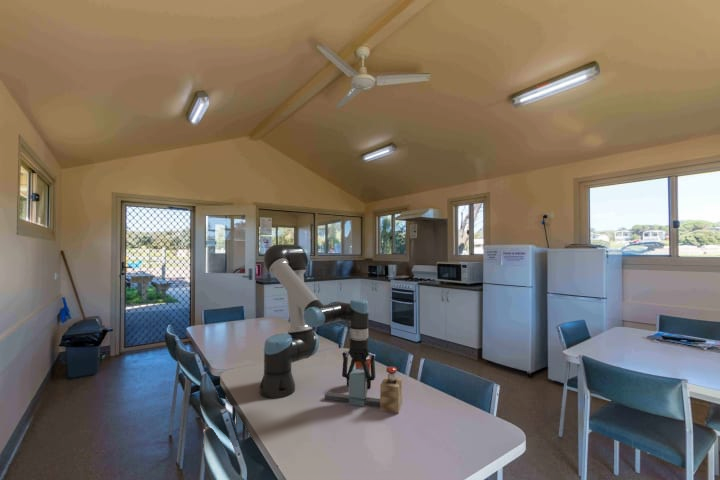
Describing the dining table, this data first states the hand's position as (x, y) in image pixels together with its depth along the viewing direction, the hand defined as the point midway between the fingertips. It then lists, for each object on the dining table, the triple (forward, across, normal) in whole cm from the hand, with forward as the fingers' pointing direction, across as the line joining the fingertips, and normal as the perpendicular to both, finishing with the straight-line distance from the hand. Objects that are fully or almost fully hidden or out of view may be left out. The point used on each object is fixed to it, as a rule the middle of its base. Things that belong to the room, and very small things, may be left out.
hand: (358, 395), depth 136 cm
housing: (+3, +13, 0) cm, 14 cm away
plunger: (-6, +13, 0) cm, 15 cm away
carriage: (+3, 0, 0) cm, 3 cm away
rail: (+3, -2, 0) cm, 4 cm away
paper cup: (+3, -3, +18) cm, 19 cm away
